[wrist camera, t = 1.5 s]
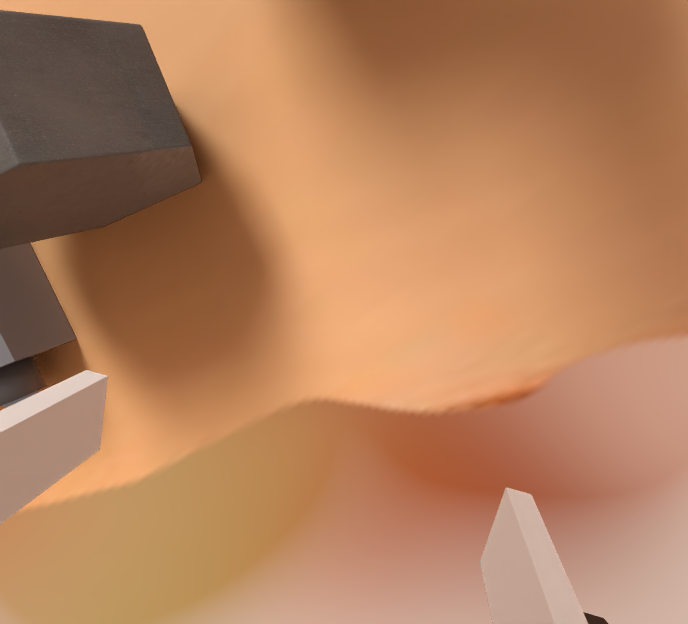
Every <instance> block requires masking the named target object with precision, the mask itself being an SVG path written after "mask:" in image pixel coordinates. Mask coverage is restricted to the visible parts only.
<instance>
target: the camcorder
mask: <svg viewBox="0 0 688 624" xmlns="http://www.w3.org/2000/svg"><path fill="white" fill-rule="evenodd" d="M75 339H77V338H76V336H75V334H74V332H73V330H72V328H71V326H70V324H69V322H68V320H67V318H66V316H65V314H64V312H63V310H62V308H61V306H60V304H59V302H58V300H57V297H56V295H55V293H54V291H53V289H52V287H51V285H50V283H49V281H48V279H47V277H46V275H45V273H44V271H43V269H42V267H41V265H40V263H39V261H38V259H37V257H36V255H35V253H34V250H33V248H32V246H31V244H30V243H26V244H21V245H17V246H12V247H7V248H3V249H0V406H1V405H2V406H3V408H4V407H7V406H9V405H12V404H14V403H17V402H19V401H22V400H24V399H26V398H28V397H30V396H32V395H34V394H37V393H38V391H37V390H39V389H41V388H43V387H45V386H46V384H45V382H44V380H43V378H42V376H41V374H40V372H39V370H38V368H37V366H36V364H35V362H34V360H33V358H32V357H33V356H35V355H38V354H40V353H43V352H45V351H47V350H50V349H52V348H55V347H57V346H60V345H62V344H65V343H67V342H70V341H72V340H75Z"/></svg>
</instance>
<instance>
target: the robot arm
mask: <svg viewBox="0 0 688 624" xmlns="http://www.w3.org/2000/svg"><path fill="white" fill-rule="evenodd" d="M107 379H108V376H107V375H103V374H99V373H96V372H92V371H89V370H85V371H83V372H81V373H79V374H77V375H75V376H72V377H70V378H68V379H66V380H64V381H62V382H60V383H58V384H56V385H53V386H51V387H49V388H47V389H45V390H43V391H41V392H39V393H37V394H34V395H32V396H30V397H28V398H26V399H24V400H22V401H20V402H18V403H15V404H13V405H11V406H9V407H7V408H5V409H3V410H1V411H0V524H1V523H3V522H4V521H5V520H7V519H8V518H9V517H11V516H12V515H13V514H15V513H16V512H17V511H19V510H20V509H21V508H23V507H24V506H25V505H27V504H28V503H29V502H31V501H32V500H33V499H35V498H36V497H37V496H39V495H40V494H41V493H43V492H44V491H45V490H47V489H48V488H49V487H51V486H52V485H53V484H55V483H56V482H57V481H59V480H60V479H61V478H63V477H64V476H65V475H67V474H68V473H69V472H71V471H72V470H73V469H75V468H76V467H77V466H79V465H80V464H81V463H83V462H84V461H85V460H87V459H88V458H89V457H91V456H92V455H93V454H94V453H96V452H97V451H98V450H100V442H101V433H102V424H103V415H104V406H105V397H106V388H107ZM480 566H481V570H482V575H483V580H484V585H485V590H486V595H487V600H488V605H489V609H490V614H491V619H492V624H608V623H607V622H606V620H605V619H604V618H601V617H598V616H594V615H591V614H588V613H584V612H583V611H582V608H581V606H580V604H579V602H578V600H577V597H576V595H575V592H574V590H573V588H572V586H571V583H570V581H569V579H568V577H567V574H566V572H565V570H564V568H563V565H562V563H561V561H560V558H559V556H558V554H557V552H556V549H555V547H554V545H553V543H552V541H551V538H550V536H549V534H548V531H547V529H546V527H545V524H544V522H543V520H542V518H541V515H540V513H539V511H538V509H537V507H536V504H535V502H534V499H533V497H532V495H531V494H528V493H524V492H521V491H517V490H514V489H510V488H507V487H506V489H505V492H504V495H503V497H502V500H501V503H500V506H499V509H498V512H497V514H496V517H495V520H494V523H493V526H492V529H491V532H490V534H489V537H488V541H487V543H486V546H485V549H484V552H483V554H482V557H481V560H480Z"/></svg>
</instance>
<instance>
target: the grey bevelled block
mask: <svg viewBox="0 0 688 624" xmlns="http://www.w3.org/2000/svg"><path fill="white" fill-rule="evenodd" d="M199 183H201V177H200V173H199V169H198V166H197V162H196V159H195V155H194V152H193V148H192V145H191V142H190V140H189V138H188V135H187V133H186V130H185V128H184V126H183V123H182V121H181V118H180V116H179V114H178V111H177V109H176V106H175V104H174V102H173V99H172V97H171V94H170V92H169V90H168V87H167V85H166V82H165V80H164V78H163V75H162V73H161V70H160V68H159V66H158V63H157V61H156V58H155V56H154V54H153V51H152V49H151V46H150V44H149V42H148V39H147V37H146V34H145V32H144V30H143V27H142V26H141V25H138V24H130V23H120V22H111V21H101V20H91V19H81V18H72V17H62V16H52V15H42V14H32V13H23V12H13V11H3V10H0V249H3V248H7V247H12V246H17V245H21V244H26V243H30V242H35V241H40V240H44V239H49V238H53V237H58V236H63V235H67V234H72V233H76V232H81V231H86V230H90V229H95V228H99V227H104V226H106V225H108V224H110V223H113V222H115V221H117V220H119V219H121V218H124V217H126V216H128V215H130V214H133V213H135V212H137V211H139V210H142V209H144V208H146V207H148V206H151V205H153V204H155V203H157V202H159V201H162V200H164V199H166V198H168V197H171V196H173V195H175V194H177V193H180V192H182V191H184V190H186V189H188V188H191V187H193V186H195V185H197V184H199Z"/></svg>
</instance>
